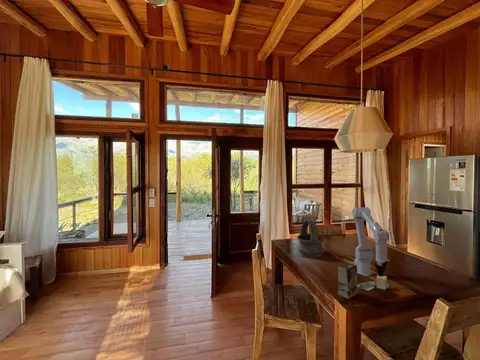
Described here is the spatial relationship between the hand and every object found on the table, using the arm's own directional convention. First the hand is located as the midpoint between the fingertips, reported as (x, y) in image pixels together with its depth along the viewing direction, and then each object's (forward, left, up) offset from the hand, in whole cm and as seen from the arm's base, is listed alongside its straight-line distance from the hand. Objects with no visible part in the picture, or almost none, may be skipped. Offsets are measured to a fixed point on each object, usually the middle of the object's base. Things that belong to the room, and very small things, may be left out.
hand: (381, 274), depth 141 cm
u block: (0, 0, -8) cm, 8 cm away
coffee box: (-6, -24, -8) cm, 26 cm away
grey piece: (0, -5, -8) cm, 9 cm away
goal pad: (-5, -8, -8) cm, 12 cm away
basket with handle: (-64, +10, -8) cm, 65 cm away
